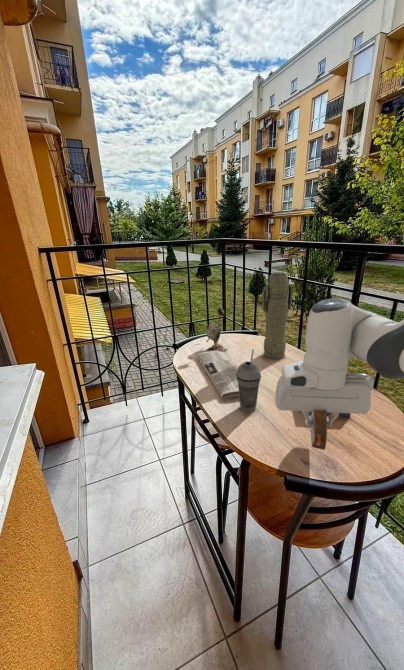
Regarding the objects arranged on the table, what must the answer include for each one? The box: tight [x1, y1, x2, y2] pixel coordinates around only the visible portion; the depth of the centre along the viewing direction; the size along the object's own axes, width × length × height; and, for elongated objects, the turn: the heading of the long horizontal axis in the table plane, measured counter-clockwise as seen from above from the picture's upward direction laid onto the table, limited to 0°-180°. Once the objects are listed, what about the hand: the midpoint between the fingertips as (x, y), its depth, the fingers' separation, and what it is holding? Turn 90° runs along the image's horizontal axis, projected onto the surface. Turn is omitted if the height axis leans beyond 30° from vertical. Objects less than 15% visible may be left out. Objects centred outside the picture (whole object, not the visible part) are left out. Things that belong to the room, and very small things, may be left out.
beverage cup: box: [236, 348, 262, 414], centre depth 82 cm, size 7×7×20 cm
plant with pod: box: [205, 306, 228, 352], centre depth 126 cm, size 8×11×20 cm
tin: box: [310, 410, 328, 451], centre depth 66 cm, size 15×3×8 cm, turn 161°
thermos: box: [261, 271, 294, 361], centre depth 115 cm, size 9×12×35 cm
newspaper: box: [196, 350, 239, 400], centre depth 106 cm, size 35×12×4 cm, turn 15°
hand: (318, 424), depth 66 cm, fingers closed on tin, 3 cm apart
